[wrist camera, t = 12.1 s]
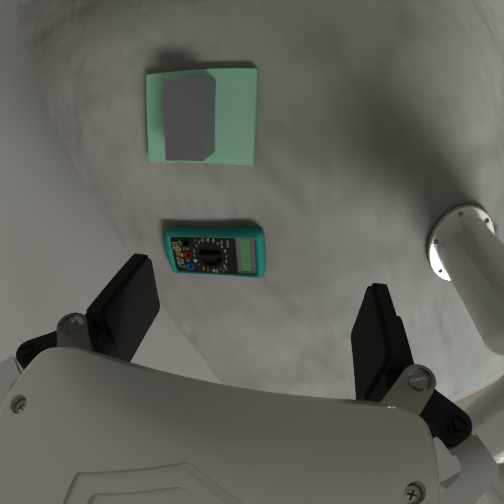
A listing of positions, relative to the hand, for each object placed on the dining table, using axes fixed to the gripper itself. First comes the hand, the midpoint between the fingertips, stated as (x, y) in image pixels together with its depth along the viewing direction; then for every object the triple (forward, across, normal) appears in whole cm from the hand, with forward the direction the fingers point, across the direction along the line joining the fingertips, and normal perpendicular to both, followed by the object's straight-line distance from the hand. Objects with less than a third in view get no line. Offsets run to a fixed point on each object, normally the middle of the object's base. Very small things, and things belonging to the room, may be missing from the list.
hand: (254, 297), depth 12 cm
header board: (+26, +11, -5) cm, 29 cm away
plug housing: (+25, +11, -5) cm, 28 cm away
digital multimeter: (+27, +9, +14) cm, 32 cm away
